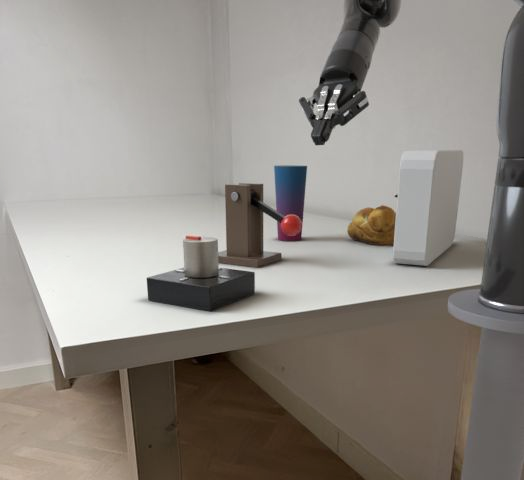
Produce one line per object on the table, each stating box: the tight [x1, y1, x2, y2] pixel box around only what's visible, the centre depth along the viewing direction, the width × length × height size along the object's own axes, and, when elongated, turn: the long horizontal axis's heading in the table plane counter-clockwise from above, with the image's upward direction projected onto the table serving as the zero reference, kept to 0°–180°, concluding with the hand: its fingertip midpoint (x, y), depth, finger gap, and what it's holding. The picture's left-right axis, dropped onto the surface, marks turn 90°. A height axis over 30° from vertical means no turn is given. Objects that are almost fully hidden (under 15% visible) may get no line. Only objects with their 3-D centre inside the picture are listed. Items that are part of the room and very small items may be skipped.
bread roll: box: [346, 204, 396, 246], centre depth 114 cm, size 13×10×8 cm
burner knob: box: [182, 234, 220, 278], centre depth 71 cm, size 4×4×5 cm
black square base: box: [146, 267, 256, 312], centre depth 72 cm, size 10×10×3 cm
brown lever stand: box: [218, 182, 283, 268], centre depth 94 cm, size 10×8×13 cm
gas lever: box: [251, 189, 303, 236], centre depth 91 cm, size 13×3×3 cm, turn 58°
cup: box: [273, 164, 308, 242], centre depth 116 cm, size 7×7×15 cm
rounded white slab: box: [392, 149, 464, 267], centre depth 100 cm, size 29×8×18 cm, turn 153°
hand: (317, 141), depth 92 cm, fingers closed
